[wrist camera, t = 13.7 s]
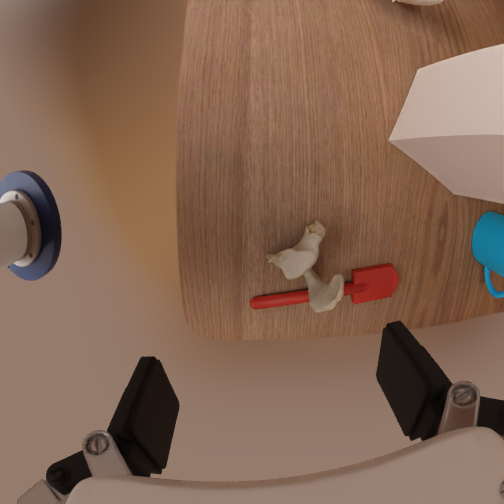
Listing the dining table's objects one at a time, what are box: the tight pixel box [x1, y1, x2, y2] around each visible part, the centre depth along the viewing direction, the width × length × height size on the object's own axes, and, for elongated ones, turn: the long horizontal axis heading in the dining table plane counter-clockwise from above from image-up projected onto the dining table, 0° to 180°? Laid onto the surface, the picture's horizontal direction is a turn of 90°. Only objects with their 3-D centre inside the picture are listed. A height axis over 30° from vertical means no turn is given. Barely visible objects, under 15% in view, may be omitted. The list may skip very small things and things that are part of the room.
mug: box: [472, 211, 504, 298], centre depth 26 cm, size 12×8×8 cm
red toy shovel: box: [250, 263, 398, 309], centre depth 31 cm, size 18×4×1 cm, turn 99°
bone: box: [267, 220, 344, 313], centre depth 27 cm, size 9×6×10 cm
